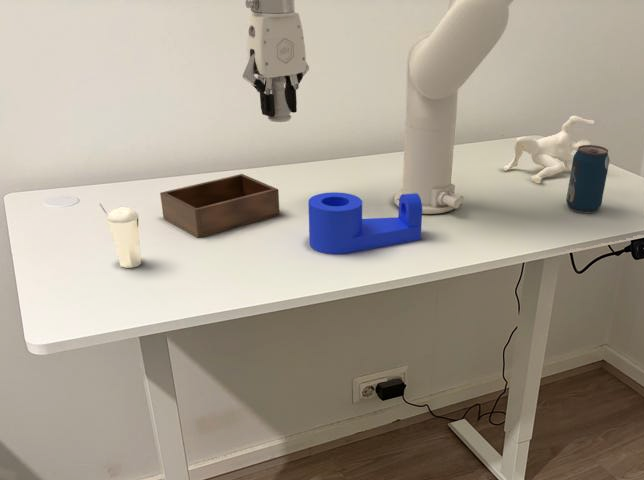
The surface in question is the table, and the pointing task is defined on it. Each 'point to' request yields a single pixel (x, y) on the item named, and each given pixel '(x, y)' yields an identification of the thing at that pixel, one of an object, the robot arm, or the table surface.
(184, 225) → the crate
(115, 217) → the milkshake
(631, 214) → the table surface
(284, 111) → the rook chess piece
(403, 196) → the bracket
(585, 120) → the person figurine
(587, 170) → the soda can
